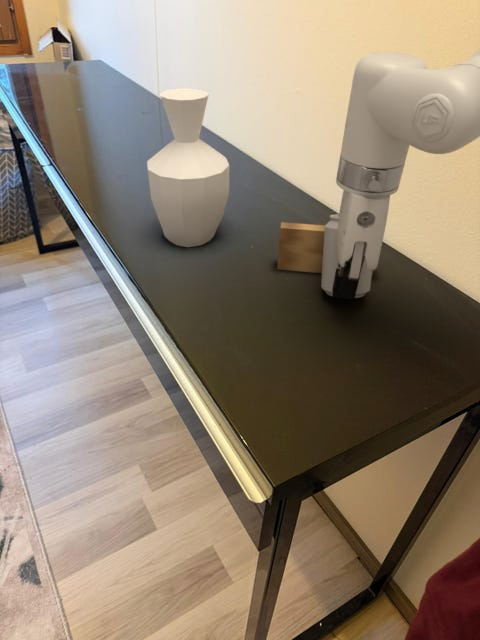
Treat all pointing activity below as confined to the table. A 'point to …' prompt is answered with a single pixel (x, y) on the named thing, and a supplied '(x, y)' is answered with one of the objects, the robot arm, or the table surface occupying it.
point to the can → (332, 260)
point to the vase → (188, 174)
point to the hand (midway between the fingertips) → (343, 294)
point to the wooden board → (301, 247)
